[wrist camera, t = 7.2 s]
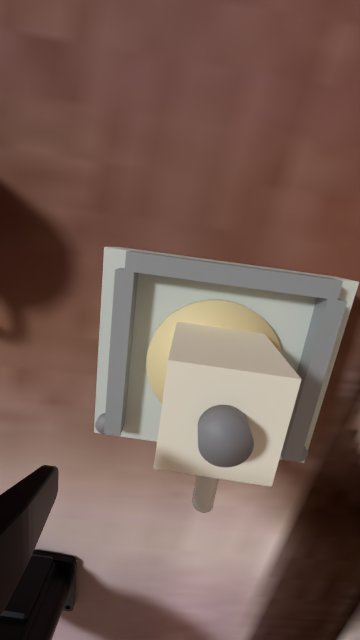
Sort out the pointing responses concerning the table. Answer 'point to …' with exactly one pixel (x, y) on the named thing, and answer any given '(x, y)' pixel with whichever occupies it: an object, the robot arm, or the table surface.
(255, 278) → the grey tray
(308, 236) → the table surface
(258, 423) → the spout can
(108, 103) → the table surface
